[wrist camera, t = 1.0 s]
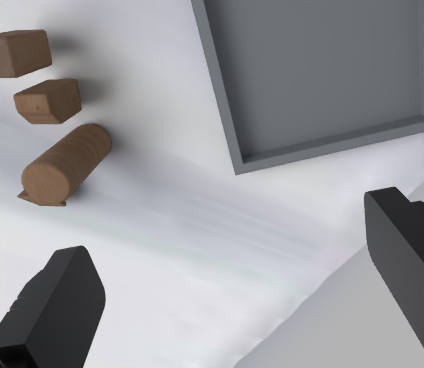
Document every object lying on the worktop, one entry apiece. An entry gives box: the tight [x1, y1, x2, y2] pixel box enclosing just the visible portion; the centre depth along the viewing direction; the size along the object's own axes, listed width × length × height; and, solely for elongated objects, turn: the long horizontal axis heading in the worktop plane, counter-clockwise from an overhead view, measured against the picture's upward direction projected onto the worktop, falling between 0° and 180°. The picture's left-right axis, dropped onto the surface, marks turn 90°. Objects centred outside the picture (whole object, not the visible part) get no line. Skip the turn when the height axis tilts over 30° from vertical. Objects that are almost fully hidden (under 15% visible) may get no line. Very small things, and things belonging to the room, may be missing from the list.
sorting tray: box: [191, 0, 424, 175], centre depth 35 cm, size 20×20×3 cm
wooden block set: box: [0, 30, 111, 206], centre depth 35 cm, size 18×9×10 cm, turn 2°
